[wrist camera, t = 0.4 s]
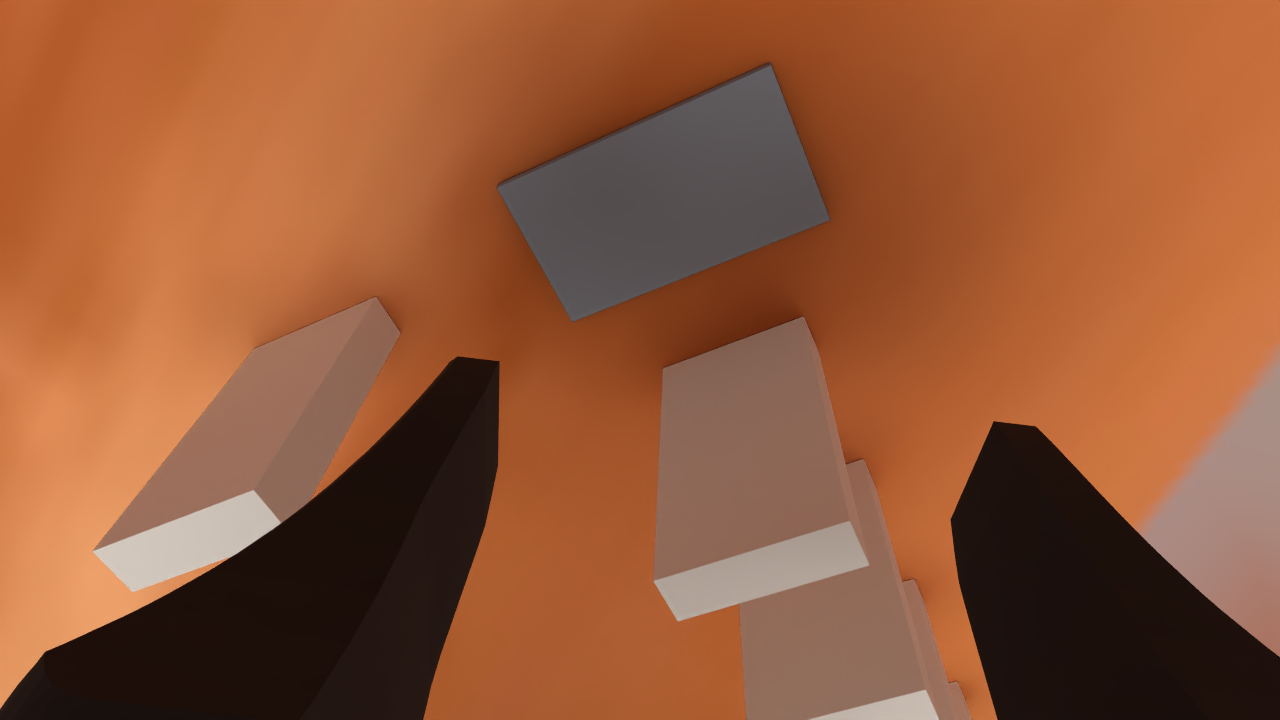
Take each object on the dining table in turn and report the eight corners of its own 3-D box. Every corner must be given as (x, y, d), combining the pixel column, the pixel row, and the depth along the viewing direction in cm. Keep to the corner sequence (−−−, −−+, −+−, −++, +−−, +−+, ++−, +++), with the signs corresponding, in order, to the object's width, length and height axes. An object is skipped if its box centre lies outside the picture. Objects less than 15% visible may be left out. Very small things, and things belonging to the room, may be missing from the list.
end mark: (573, 316, 24) (572, 321, 24) (498, 183, 22) (496, 187, 22) (828, 215, 22) (830, 219, 22) (770, 62, 21) (771, 65, 20)
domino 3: (747, 529, 28) (767, 767, 21) (732, 501, 27) (747, 735, 20) (876, 489, 27) (941, 724, 20) (863, 458, 26) (925, 689, 19)
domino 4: (803, 638, 30) (838, 884, 23) (791, 614, 29) (822, 858, 23) (925, 604, 29) (998, 851, 22) (914, 578, 28) (986, 823, 22)
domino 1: (280, 382, 26) (133, 591, 19) (253, 349, 25) (92, 551, 18) (400, 332, 25) (291, 534, 18) (376, 296, 24) (253, 489, 17)
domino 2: (680, 402, 26) (678, 621, 19) (662, 368, 25) (653, 581, 18) (818, 352, 25) (870, 565, 18) (803, 316, 24) (849, 520, 17)
